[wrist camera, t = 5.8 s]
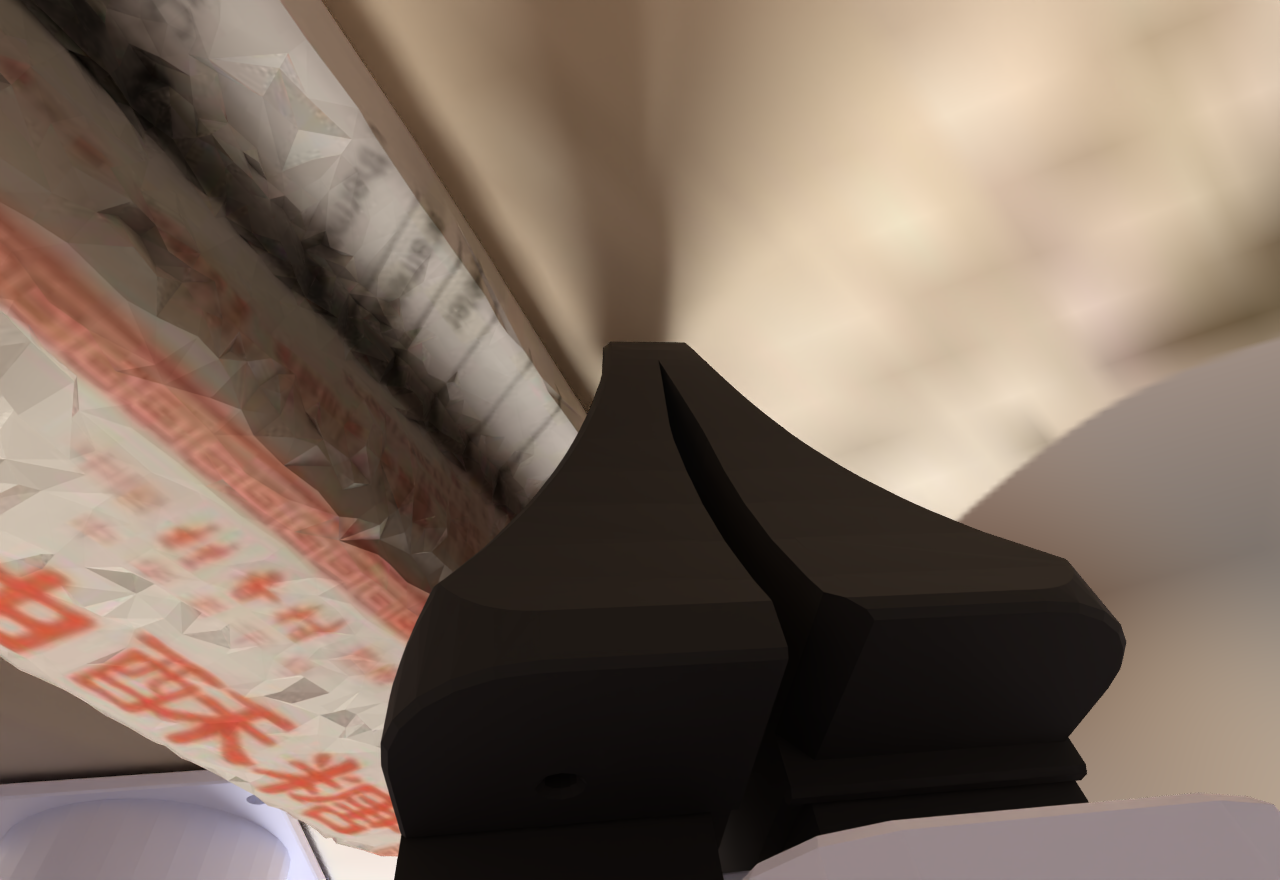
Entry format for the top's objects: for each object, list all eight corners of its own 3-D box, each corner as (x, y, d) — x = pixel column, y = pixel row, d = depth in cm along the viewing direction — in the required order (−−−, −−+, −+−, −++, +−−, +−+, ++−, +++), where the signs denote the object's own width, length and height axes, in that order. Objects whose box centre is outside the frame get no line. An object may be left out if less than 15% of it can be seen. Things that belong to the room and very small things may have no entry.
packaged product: (758, 781, 13) (320, 928, 14) (709, 582, 16) (367, 716, 18) (-1081, -1498, 2) (-1859, 65, 4) (-41, -591, 6) (-668, -3, 8)
